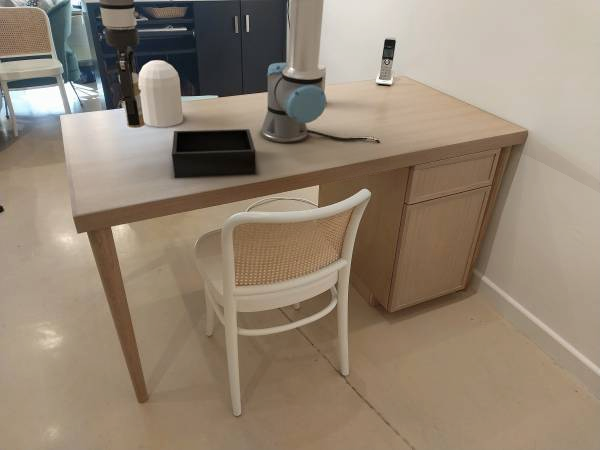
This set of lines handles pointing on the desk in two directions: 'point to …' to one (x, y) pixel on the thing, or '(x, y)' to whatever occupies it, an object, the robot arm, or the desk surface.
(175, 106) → the container
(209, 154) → the black open box
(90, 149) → the desk surface
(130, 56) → the robot arm
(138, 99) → the sprinkles bottle
